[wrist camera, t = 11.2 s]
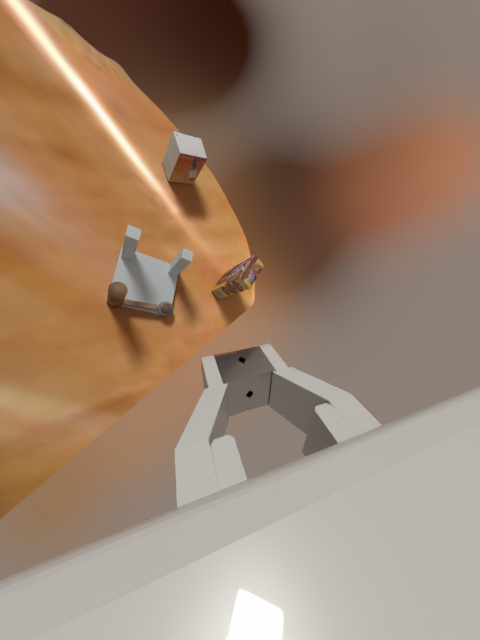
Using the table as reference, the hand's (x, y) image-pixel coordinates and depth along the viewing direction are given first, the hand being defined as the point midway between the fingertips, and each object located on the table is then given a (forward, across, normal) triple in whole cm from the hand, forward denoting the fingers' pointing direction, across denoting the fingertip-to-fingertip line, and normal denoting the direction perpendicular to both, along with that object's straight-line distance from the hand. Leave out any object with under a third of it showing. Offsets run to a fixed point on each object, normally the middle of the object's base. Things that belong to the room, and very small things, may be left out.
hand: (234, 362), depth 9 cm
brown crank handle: (+43, -11, -16) cm, 47 cm away
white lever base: (+47, -9, -12) cm, 50 cm away
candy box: (+53, +12, -17) cm, 57 cm away
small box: (+69, +4, +13) cm, 70 cm away
